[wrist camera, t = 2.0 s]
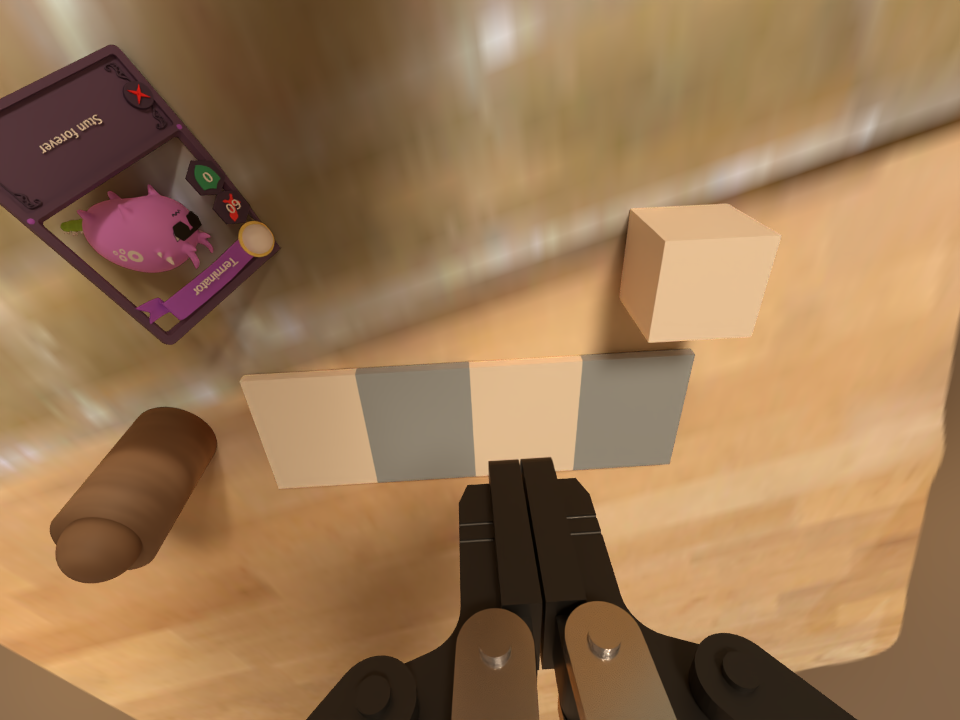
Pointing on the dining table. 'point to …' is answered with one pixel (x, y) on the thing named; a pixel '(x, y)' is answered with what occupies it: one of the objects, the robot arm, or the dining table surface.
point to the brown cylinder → (132, 496)
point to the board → (468, 416)
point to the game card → (116, 222)
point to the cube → (695, 271)
